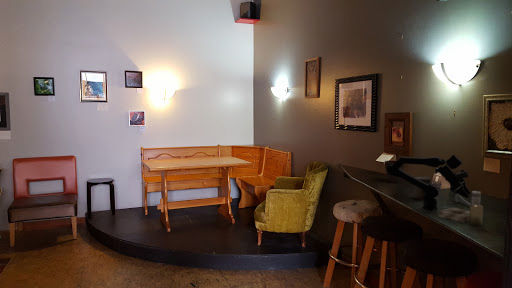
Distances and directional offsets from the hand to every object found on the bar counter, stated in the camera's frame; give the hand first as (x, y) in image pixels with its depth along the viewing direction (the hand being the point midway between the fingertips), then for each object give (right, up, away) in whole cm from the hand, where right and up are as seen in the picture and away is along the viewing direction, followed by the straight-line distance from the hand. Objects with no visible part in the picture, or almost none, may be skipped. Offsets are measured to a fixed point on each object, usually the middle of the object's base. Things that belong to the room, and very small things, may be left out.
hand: (469, 195), depth 222 cm
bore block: (-9, -11, -6) cm, 16 cm away
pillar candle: (-11, -7, +37) cm, 39 cm away
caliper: (+8, -9, +18) cm, 22 cm away
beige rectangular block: (-7, -13, -18) cm, 23 cm away
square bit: (+3, -11, -1) cm, 11 cm away
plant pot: (-11, -1, +90) cm, 91 cm away
